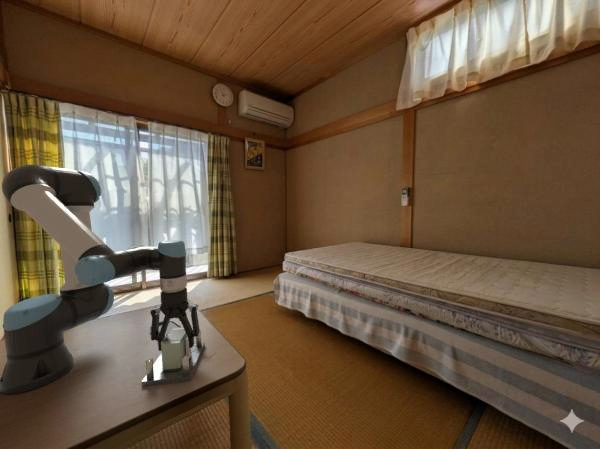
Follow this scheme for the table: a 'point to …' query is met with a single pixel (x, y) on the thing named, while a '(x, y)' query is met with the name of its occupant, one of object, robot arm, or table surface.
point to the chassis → (183, 374)
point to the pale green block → (174, 349)
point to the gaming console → (169, 328)
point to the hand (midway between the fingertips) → (177, 357)
